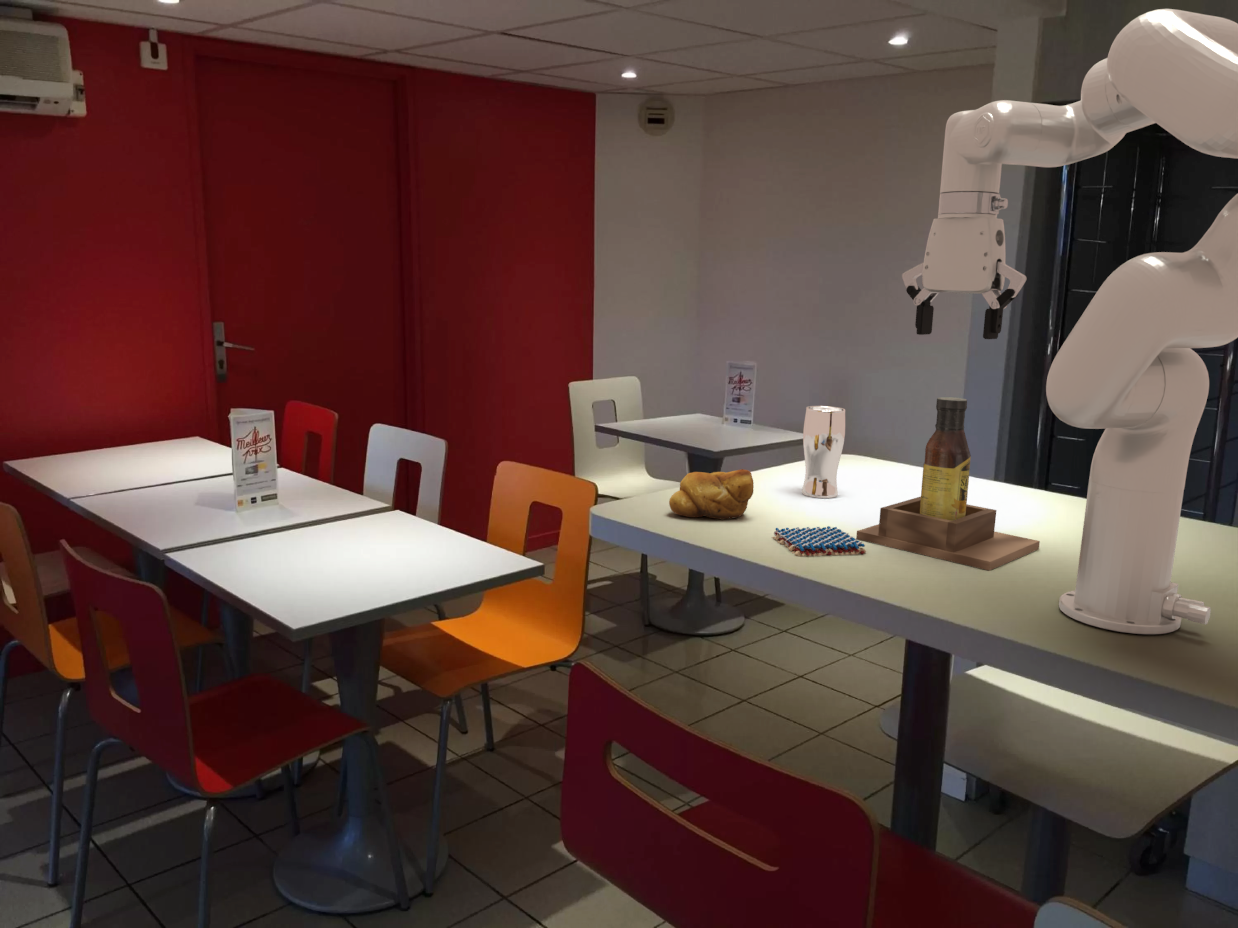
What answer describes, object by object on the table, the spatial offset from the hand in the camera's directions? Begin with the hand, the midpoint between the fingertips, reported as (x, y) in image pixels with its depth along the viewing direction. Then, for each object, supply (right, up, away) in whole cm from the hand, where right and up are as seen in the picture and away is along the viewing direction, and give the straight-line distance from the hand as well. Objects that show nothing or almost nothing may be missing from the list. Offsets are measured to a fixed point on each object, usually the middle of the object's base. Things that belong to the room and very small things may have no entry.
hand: (956, 336), depth 139 cm
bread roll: (-32, -26, +19) cm, 46 cm away
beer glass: (-12, -23, +36) cm, 44 cm away
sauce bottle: (-1, -28, +5) cm, 29 cm away
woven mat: (-18, -30, +4) cm, 35 cm away
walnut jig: (+1, -29, +6) cm, 30 cm away
